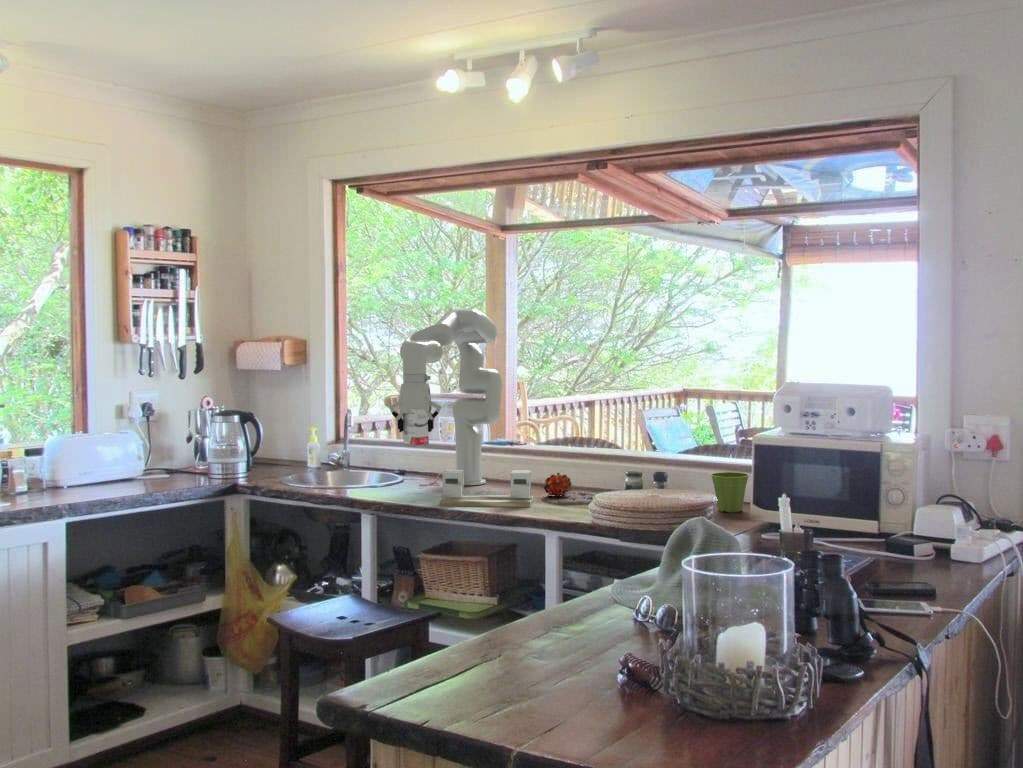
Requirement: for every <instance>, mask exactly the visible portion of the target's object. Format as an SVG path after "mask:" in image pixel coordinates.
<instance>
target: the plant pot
mask: <svg viewBox="0 0 1023 768" xmlns="http://www.w3.org/2000/svg"><path fill="white" fill-rule="evenodd" d="M709 475H710V476H711V480H712V484H713V487H714V492H715V498H716V497H717V499H718V501H717V500H716V504H717V510H718V511H719V512H726V513H739V512H742V511H743V507H744V502H745V495H746V489H747V484H748V479H749V477H750V476H751V475H750V473H746V472H738V471H737V472H736V471H723V472H713V473H710V474H709Z"/></svg>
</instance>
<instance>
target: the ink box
mask: <svg viewBox="0 0 1023 768" xmlns="http://www.w3.org/2000/svg"><path fill="white" fill-rule="evenodd" d="M402 419H403V431H402V433H403V434H402V435H403V437H402V438H403V444H406V445H413V446H424V445H425V446H426V445H429V444H430V443H429V442H430V441H429V432H428V420H429V418H428V413H426V412H425V410H424V409H411V411H410V414H404V415H403V417H402Z"/></svg>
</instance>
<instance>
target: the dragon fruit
mask: <svg viewBox="0 0 1023 768" xmlns="http://www.w3.org/2000/svg"><path fill="white" fill-rule="evenodd" d="M571 487H572V481H571V478H570V477H569V476H568V474H566V473H565V474H562V475H561V474H560V472H557V473H556V474H551V475H550V476H549V477H547V478H546V479H545V485H543V489H544V491H545V492H546V494H547V497H548V496H549V495H558V496H559V495H564V496H565V495H566V493H569V492H571V491H572V488H571Z"/></svg>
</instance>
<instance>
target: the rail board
mask: <svg viewBox="0 0 1023 768" xmlns="http://www.w3.org/2000/svg"><path fill="white" fill-rule="evenodd" d="M531 474H532V471H531V470H511V472H510V494H509V495H507V494H505V495H501V494H500V495H496V494H495V495H494V494H492V495H491V494H490V495H489V494H488V495H487V494H465V485H464V470H456V469H444V471H442V479H441V480H442V496H441V499H440V500H439V507H441V506H442V507H503V508H504V507H505V508H506V507H510V508H511V507H516V508H517V507H518V508H520V507H521V508H522V507H523V508H525V507H527V508H530V507H532V504H533V502H534V496H533V495H532V485H531V484H532V475H531Z"/></svg>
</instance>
